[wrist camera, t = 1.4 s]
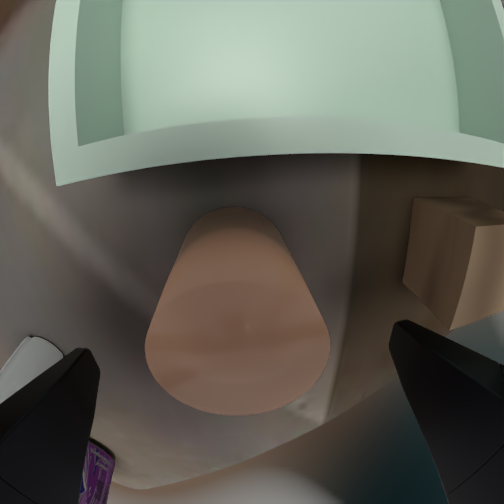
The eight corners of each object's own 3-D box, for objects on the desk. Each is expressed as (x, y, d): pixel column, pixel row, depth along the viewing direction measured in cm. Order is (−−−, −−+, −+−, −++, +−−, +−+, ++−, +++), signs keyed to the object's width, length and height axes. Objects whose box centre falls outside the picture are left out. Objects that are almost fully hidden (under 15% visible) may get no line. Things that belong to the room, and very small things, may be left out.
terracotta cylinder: (284, 202, 13) (338, 270, 6) (286, 298, 15) (321, 405, 8) (173, 212, 13) (122, 289, 6) (190, 306, 15) (170, 417, 8)
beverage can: (115, 445, 20) (95, 548, 9) (116, 468, 22) (102, 552, 11) (50, 418, 19) (16, 513, 8) (60, 446, 21) (37, 525, 10)
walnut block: (470, 197, 13) (529, 222, 9) (458, 271, 15) (505, 309, 11) (411, 197, 13) (476, 226, 9) (401, 281, 15) (449, 330, 10)
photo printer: (25, 323, 14) (-61, 456, 3) (74, 353, 15) (6, 508, 4) (28, 396, 17) (-16, 495, 6) (66, 418, 18) (31, 524, 7)
